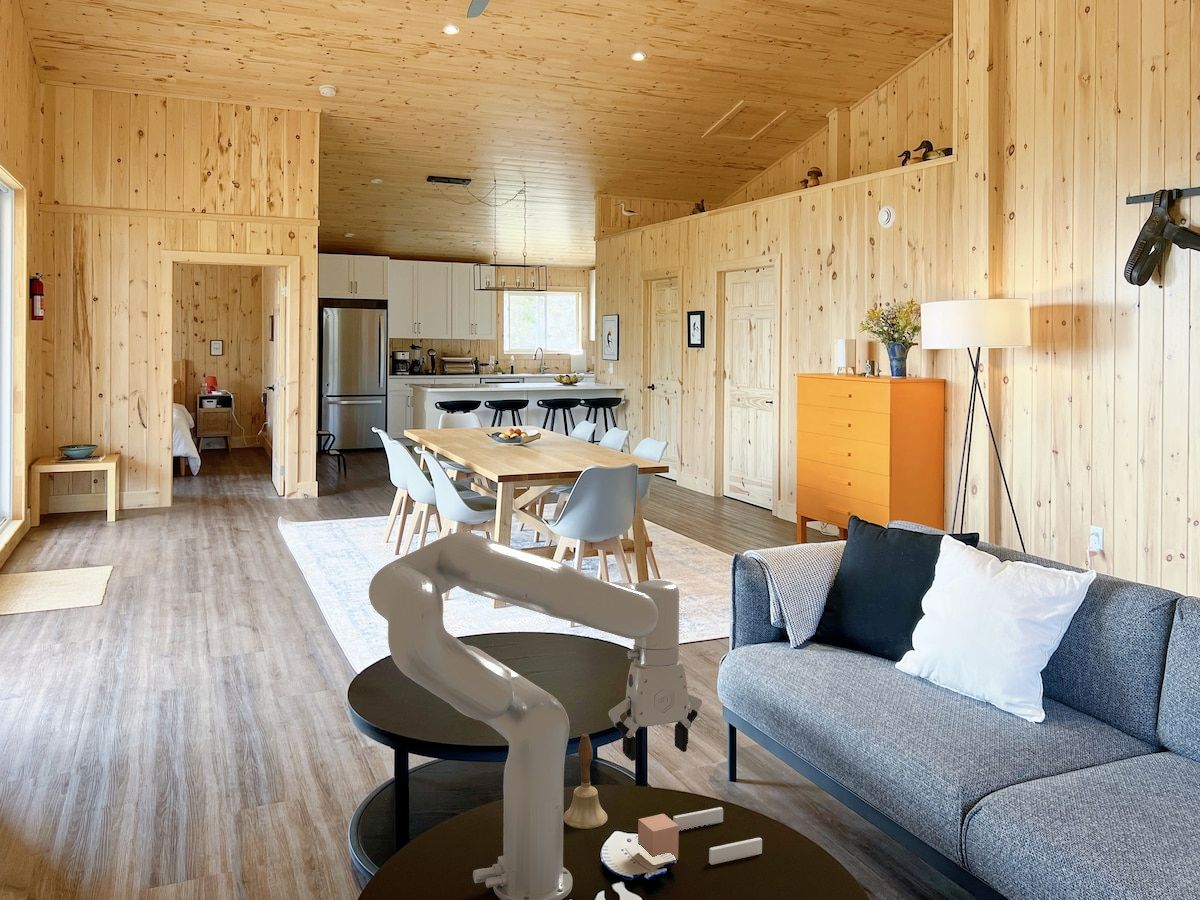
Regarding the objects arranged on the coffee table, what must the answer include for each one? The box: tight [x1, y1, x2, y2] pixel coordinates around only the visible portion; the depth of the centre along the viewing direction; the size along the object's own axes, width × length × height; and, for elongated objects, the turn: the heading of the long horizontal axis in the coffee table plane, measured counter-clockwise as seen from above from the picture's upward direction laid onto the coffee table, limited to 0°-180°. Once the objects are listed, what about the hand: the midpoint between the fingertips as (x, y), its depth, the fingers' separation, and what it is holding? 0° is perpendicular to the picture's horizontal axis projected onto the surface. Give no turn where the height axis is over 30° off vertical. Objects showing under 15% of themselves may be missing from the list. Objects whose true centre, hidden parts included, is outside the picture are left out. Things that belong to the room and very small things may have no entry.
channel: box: [672, 806, 763, 866], centre depth 162 cm, size 10×14×2 cm
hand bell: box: [563, 733, 609, 830], centre depth 170 cm, size 8×8×16 cm
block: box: [637, 813, 680, 861], centre depth 156 cm, size 5×5×6 cm
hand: (655, 753), depth 156 cm, fingers open, 9 cm apart
